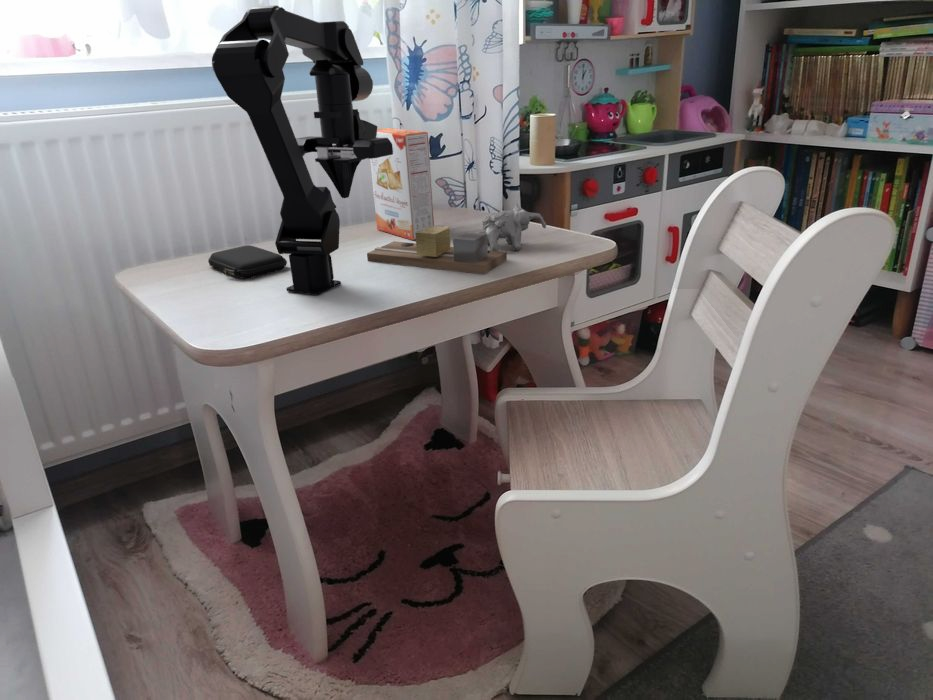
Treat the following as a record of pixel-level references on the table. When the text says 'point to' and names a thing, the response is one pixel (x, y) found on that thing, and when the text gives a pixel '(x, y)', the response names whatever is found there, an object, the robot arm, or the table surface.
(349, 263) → the table surface
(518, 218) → the elephant statuette
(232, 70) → the robot arm
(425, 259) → the board
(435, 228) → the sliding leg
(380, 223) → the cracker box
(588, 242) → the table surface
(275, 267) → the carrying case or bag
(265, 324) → the table surface
